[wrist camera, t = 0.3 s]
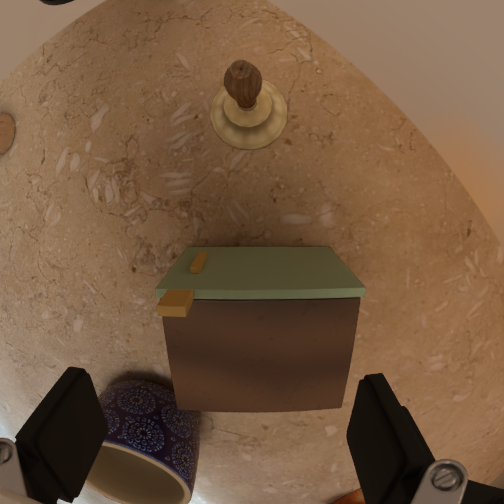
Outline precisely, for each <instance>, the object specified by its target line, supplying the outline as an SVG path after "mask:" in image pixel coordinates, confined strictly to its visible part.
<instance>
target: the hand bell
mask: <svg viewBox="0 0 504 504" xmlns="http://www.w3.org/2000/svg"><path fill="white" fill-rule="evenodd" d="M287 116H288V110H287V105H286V102H285V99H284V97H283V95H282V94H281V92H280V91H279V90H278V89H277V88H276V87H275V86H274V85H272V84H271V83H269V82H267V81H265V80H263V79H262V76H261V74H260V72H259V70H258V69H257V68H256V67H255V66H254V65H252V64H250V63H249V62H247V61H245V60H237V61H235V62H233V63H232V65H231V66H230V67H229V68H228V69H227V71H226V73H225V77H224V86H223V87H222V88H221V89H220V90H219V91H218V93H217V94H216V95H215V97H214V99H213V101H212V105H211V110H210V117H211V123H212V126H213V128H214V130H215V132H216V134H217V135H218V136H219V137H220V138H221V140H223V141H224V142H225V143H227V144H228V145H230V146H232V147H235V148H237V149H242V150H255V149H260V148H263V147H265V146H268V145H269V144H271V143H272V142H274V141H275V140H276V139H277V138H278V137H279V136H280V135H281V133H282V132H283V130H284V128H285V126H286V122H287Z"/></svg>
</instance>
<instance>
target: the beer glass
mask: <svg viewBox="0 0 504 504" xmlns="http://www.w3.org/2000/svg"><path fill="white" fill-rule="evenodd" d="M14 134H15V124H14V120H13V118H12V117H11V115H9V114H7V113H1V114H0V155H1V154H4V153H5V152H6V151H7V150H8V149H9V148H10V146H11V144H12V142H13V139H14Z"/></svg>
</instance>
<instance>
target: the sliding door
mask: <svg viewBox="0 0 504 504" xmlns="http://www.w3.org/2000/svg"><path fill="white" fill-rule="evenodd" d="M155 292H156V298H162V299H161V300H160V302H159V303H158V305H157V312H158V316H171V317H186V316H187V314H188V311H189V309H190V307H191V304H192V302H193V300H194V299H313V298H346V297H365V293H366V287H365V286H364V285H363V284H362V282H361V281H360V280H359V279H358V278H357V277H356V276H355V275H354V273H353V272H352V271H351V270H350V269H349V268H348V267H347V266H346V265H345V263H344V262H343V261H342V260H341V259H340V258H339V257H338V256H337V255H336V254H335V252H334V251H333V250H332V249H331V248H330V247H187V248H186V249H185V251H184V252H183V253H182V255H181V256H180V257H179V258H178V260H177V261H176V262H175V264H174V265H173V266H172V267H171V269H170V270H169V271H168V273H167V274H166V275H165V277H164V278H163V279H162V281H161V282H160V283H159V284H158V286H157V287H156V288H155Z"/></svg>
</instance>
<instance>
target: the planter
mask: <svg viewBox="0 0 504 504" xmlns="http://www.w3.org/2000/svg"><path fill="white" fill-rule="evenodd" d="M98 400H99V403H100V405H101V408H102V411H103V413H104V416H105V418H106V421H107V423H108V433H107V436H106V438H105V440H104V442H103V444H102V446H101V448H100V450H99V453H98V455H97V457H96V459H95V461H94V463H93V465H92V468H91V470H90V472H89V474H88V476H87V479H86V481H85V483H86V484H87V485H88V486H90V487H91V488H93V489H94V490H95V491H97V492H99V493H100V494H102V495H104V496H105V497H107V498H109V499H111V500H114V501H116V502H118V503H121V504H188V503H189V502H190V500H191V497H192V493H193V489H194V484H195V478H196V472H197V465H198V458H199V447H200V430H199V425H198V421H197V419H196V417H195V415H194V413H193V411H192V410H179V409H177V404H176V398H175V393H174V392H173V391H171V390H169V389H168V388H166V387H164V386H161V385H159V384H156V383H153V382H148V381H143V380H128V381H122V382H119V383H116V384H113V385H111V386H109V387H108V388H107V389H105V390H104V391H103V392H102V393H101V394H100V395H99V396H98Z"/></svg>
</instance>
